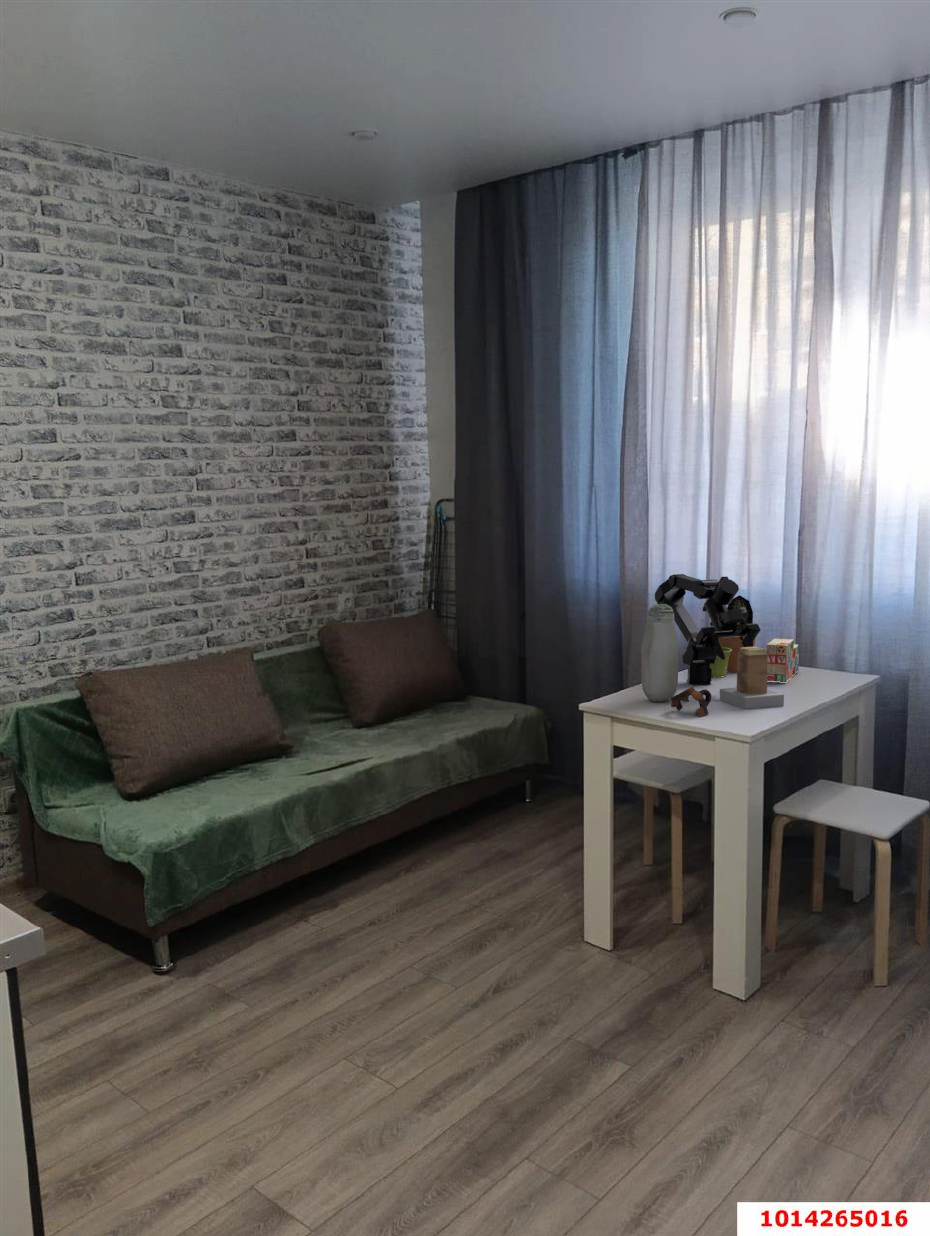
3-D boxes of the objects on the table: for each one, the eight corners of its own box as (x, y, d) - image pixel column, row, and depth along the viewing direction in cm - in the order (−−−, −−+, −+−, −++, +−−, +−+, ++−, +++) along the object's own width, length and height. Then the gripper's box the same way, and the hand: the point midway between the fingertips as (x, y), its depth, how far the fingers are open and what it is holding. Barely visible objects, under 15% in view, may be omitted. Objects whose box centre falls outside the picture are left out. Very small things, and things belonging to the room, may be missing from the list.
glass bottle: (666, 705, 294) (667, 607, 291) (635, 701, 301) (635, 604, 297) (684, 700, 302) (685, 603, 298) (653, 695, 309) (653, 601, 305)
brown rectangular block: (736, 690, 299) (737, 647, 297) (755, 689, 301) (756, 646, 299) (747, 694, 293) (748, 650, 292) (766, 693, 295) (767, 649, 293)
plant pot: (736, 677, 334) (736, 650, 333) (708, 679, 332) (708, 652, 331) (724, 672, 343) (724, 646, 342) (696, 673, 341) (697, 647, 340)
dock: (719, 699, 302) (719, 687, 302) (756, 695, 306) (756, 684, 305) (745, 708, 289) (745, 697, 289) (783, 705, 292) (784, 694, 292)
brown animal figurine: (694, 721, 278) (679, 693, 279) (674, 729, 286) (660, 703, 287) (725, 704, 284) (710, 677, 285) (705, 713, 292) (691, 686, 293)
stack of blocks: (779, 671, 344) (779, 634, 343) (798, 672, 342) (799, 635, 340) (765, 682, 326) (766, 643, 324) (786, 684, 323) (787, 644, 321)
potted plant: (727, 664, 356) (728, 591, 353) (763, 669, 346) (764, 594, 343) (704, 670, 347) (705, 595, 344) (740, 675, 337) (741, 598, 334)
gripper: (700, 600, 303) (719, 644, 294) (757, 596, 308) (778, 639, 299) (687, 623, 312) (705, 666, 303) (743, 618, 317) (762, 661, 308)
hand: (738, 657), depth 303 cm, fingers open, 9 cm apart
